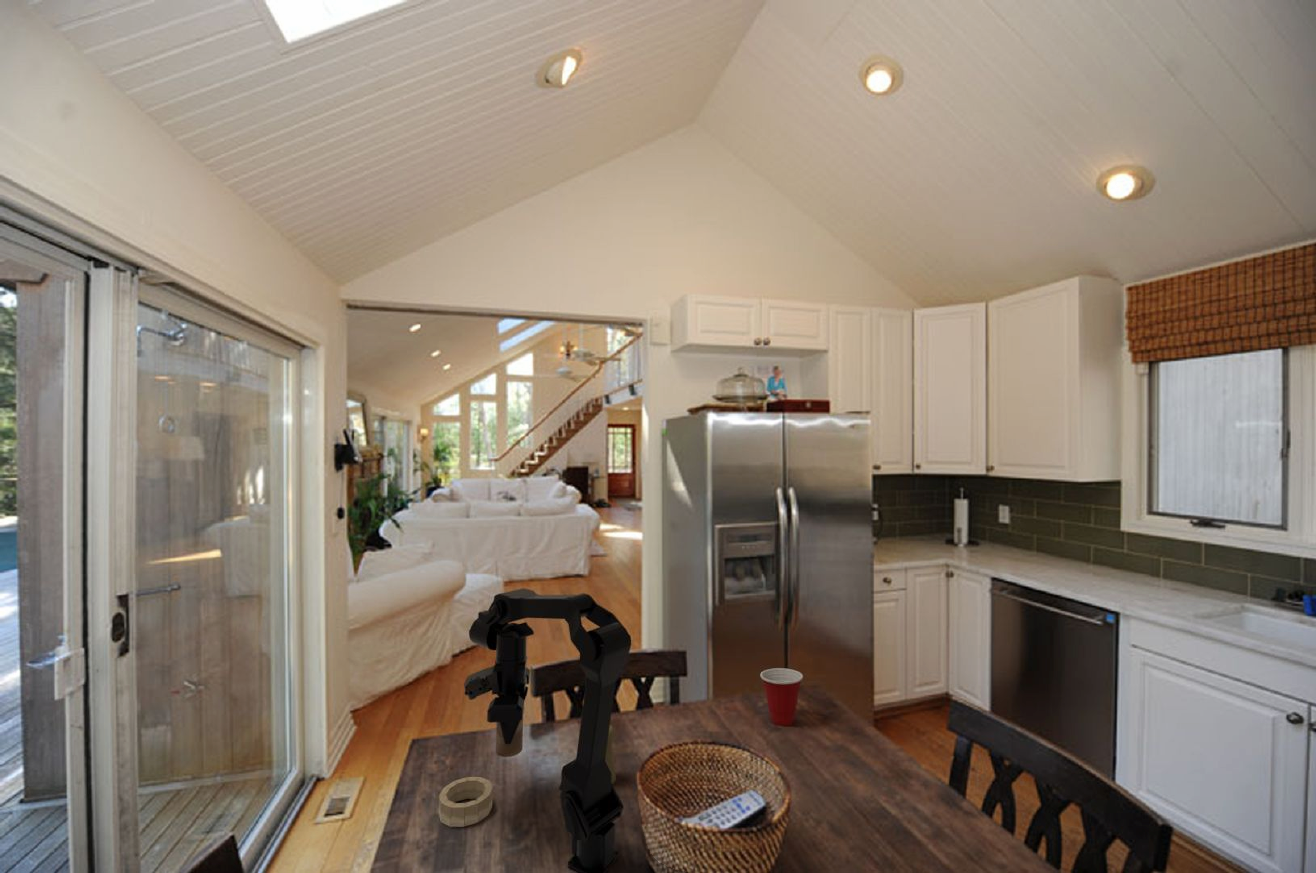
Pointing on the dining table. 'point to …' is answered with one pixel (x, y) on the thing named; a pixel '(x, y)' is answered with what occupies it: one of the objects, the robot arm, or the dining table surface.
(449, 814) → the wooden ring
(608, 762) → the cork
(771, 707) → the plastic cup
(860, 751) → the dining table surface
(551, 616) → the robot arm
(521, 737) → the walnut peg
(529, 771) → the dining table surface
